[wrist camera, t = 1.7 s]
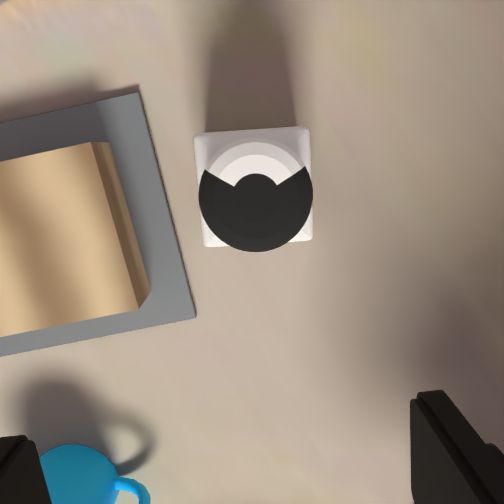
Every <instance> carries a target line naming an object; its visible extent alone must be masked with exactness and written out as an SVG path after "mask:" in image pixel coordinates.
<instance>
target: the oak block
mask: <svg viewBox="0 0 504 504" xmlns="http://www.w3.org/2000/svg"><path fill="white" fill-rule="evenodd" d="M150 292H151V289H150V285H149V282H148V278H147V274H146V271H145V267H144V264H143V260H142V256H141V253H140V249H139V246H138V242H137V239H136V235H135V231H134V228H133V224H132V221H131V217H130V213H129V210H128V206H127V203H126V199H125V196H124V192H123V188H122V185H121V181H120V178H119V174H118V170H117V167H116V163H115V160H114V156H113V153H112V149H111V145H110V143H108V142H88V143H84V144H79V145H75V146H70V147H65V148H61V149H56V150H52V151H47V152H43V153H38V154H34V155H29V156H24V157H20V158H15V159H11V160H6V161H2V162H0V337H4V336H9V335H14V334H19V333H24V332H29V331H34V330H39V329H44V328H49V327H53V326H58V325H63V324H68V323H73V322H78V321H83V320H88V319H93V318H98V317H103V316H108V315H113V314H118V313H123V312H128V311H133V310H138V309H140V307H141V306H142V304H143V303H144V301H145V300H146V298H147V297H148V295H149V294H150Z"/></svg>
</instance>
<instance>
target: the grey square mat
mask: <svg viewBox="0 0 504 504" xmlns="http://www.w3.org/2000/svg"><path fill="white" fill-rule="evenodd" d="M88 142H108V143H110V145H111V149H112V153H113V156H114V160H115V163H116V167H117V170H118V174H119V178H120V181H121V185H122V188H123V192H124V196H125V199H126V203H127V206H128V210H129V213H130V217H131V221H132V224H133V228H134V231H135V235H136V239H137V242H138V246H139V249H140V253H141V256H142V260H143V264H144V267H145V271H146V274H147V278H148V282H149V285H150V289H151V292H150V294H149V295H148V297H147V298H146V300H145V301H144V303H143V304H142V306H141V307H140V309H138V310H133V311H128V312H123V313H118V314H113V315H108V316H103V317H98V318H93V319H88V320H83V321H78V322H73V323H68V324H63V325H58V326H53V327H49V328H44V329H39V330H34V331H29V332H24V333H19V334H14V335H9V336H4V337H0V357H2V356H7V355H12V354H17V353H22V352H27V351H32V350H37V349H42V348H47V347H52V346H57V345H62V344H67V343H72V342H77V341H82V340H87V339H92V338H97V337H102V336H107V335H112V334H117V333H123V332H128V331H133V330H138V329H143V328H148V327H153V326H158V325H163V324H168V323H173V322H178V321H183V320H188V319H193V318H196V316H197V315H196V311H195V307H194V303H193V299H192V295H191V291H190V287H189V284H188V280H187V276H186V272H185V268H184V264H183V260H182V256H181V252H180V248H179V244H178V241H177V237H176V233H175V229H174V225H173V221H172V217H171V213H170V209H169V205H168V202H167V198H166V194H165V190H164V186H163V182H162V178H161V174H160V170H159V166H158V162H157V159H156V155H155V151H154V147H153V143H152V139H151V135H150V131H149V127H148V123H147V120H146V116H145V112H144V108H143V104H142V100H141V96H140V93H138V92H137V93H133V94H128V95H124V96H119V97H115V98H110V99H106V100H101V101H97V102H92V103H88V104H84V105H79V106H75V107H70V108H66V109H61V110H57V111H52V112H48V113H43V114H39V115H34V116H30V117H26V118H21V119H17V120H12V121H8V122H3V123H0V162H2V161H6V160H11V159H15V158H20V157H24V156H29V155H34V154H38V153H43V152H47V151H52V150H56V149H61V148H65V147H70V146H75V145H79V144H84V143H88Z"/></svg>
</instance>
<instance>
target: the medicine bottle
mask: <svg viewBox="0 0 504 504" xmlns="http://www.w3.org/2000/svg"><path fill="white" fill-rule="evenodd" d="M193 144H194V154H195V164H196V175H197V185H198V196H199V206H200V217H201V227H202V238H203V243H204V245H205V246H206V247H217V246H231V247H233V248H236V249H239V250H242V251H248V252H263V251H268V250H272V249H275V248H278V247H280V246H282V245H284V244H285V243H287V242H293V241H308V240H311V239H312V237H313V213H312V200H313V188H312V182H311V152H310V131H309V128H308V127H306V126H295V127H281V128H266V129H252V130H237V131H223V132H208V133H198V134H195V136H194V138H193Z"/></svg>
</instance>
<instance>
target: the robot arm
mask: <svg viewBox="0 0 504 504" xmlns="http://www.w3.org/2000/svg"><path fill="white" fill-rule="evenodd" d="M410 437H411V490H412V496H413V500H414V503H415V504H504V455H503V453H502V452H501V451H500V450H499V449H498V448H497V447H496V446H495V445H493V444H491V443H489V444H485V443H484V441H483V440H482V439H481V438H480V436H479V435H478V434H477V433H476V431H475V430H474V429H473V428H472V426H471V425H470V424H469V422H468V421H467V420H466V419H465V417H464V416H463V415H462V414H461V412H460V411H459V410H458V408H457V407H456V406H455V405H454V403H453V402H452V401H451V400H450V398H449V397H448V396H447V395H446V393H445V392H444V391H443V390H435V391H426V392H419V393H418V394H417V399H412V400H411V401H410ZM0 504H52V502H51V498H50V495H49V491H48V488H47V484H46V481H45V477H44V474H43V470H42V467H41V463H40V460H39V456H38V453H37V449H36V446H35V443H34V442H33V441H31V440H28V438H27V437H26V436H25V435H18V436H9V437H1V438H0Z"/></svg>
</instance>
